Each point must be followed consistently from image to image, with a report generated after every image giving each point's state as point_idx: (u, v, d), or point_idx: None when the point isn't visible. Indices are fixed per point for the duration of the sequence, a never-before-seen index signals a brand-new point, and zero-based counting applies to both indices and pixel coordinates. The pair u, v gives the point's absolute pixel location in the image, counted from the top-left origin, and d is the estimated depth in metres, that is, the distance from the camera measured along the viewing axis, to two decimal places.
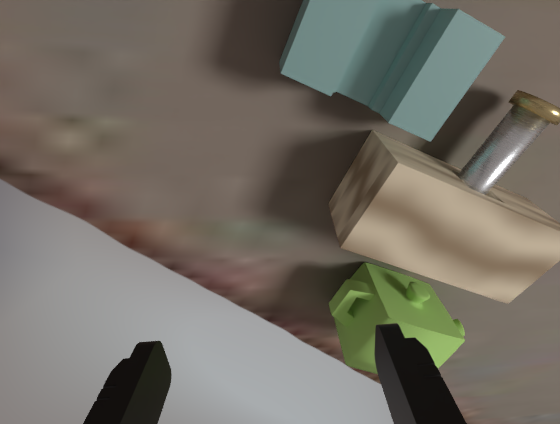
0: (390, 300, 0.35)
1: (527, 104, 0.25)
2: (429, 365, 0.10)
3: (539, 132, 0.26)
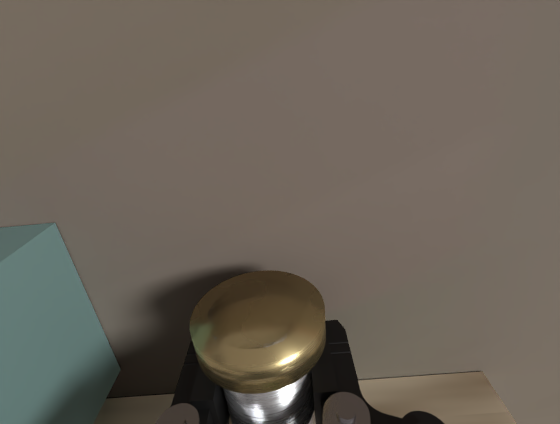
0: None
1: (199, 360, 0.09)
2: (343, 343, 0.11)
3: (289, 392, 0.09)
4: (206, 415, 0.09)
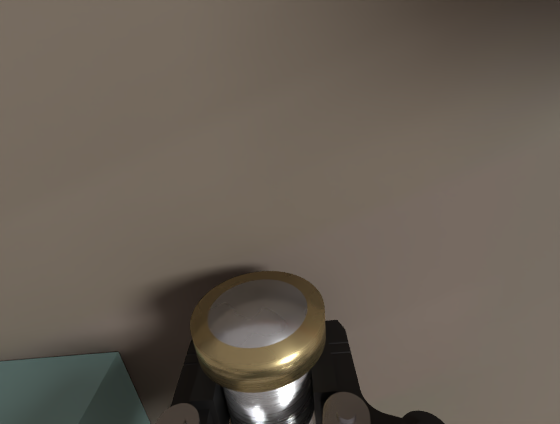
0: None
1: (199, 359, 0.09)
2: (343, 343, 0.11)
3: (289, 392, 0.09)
4: (206, 415, 0.09)
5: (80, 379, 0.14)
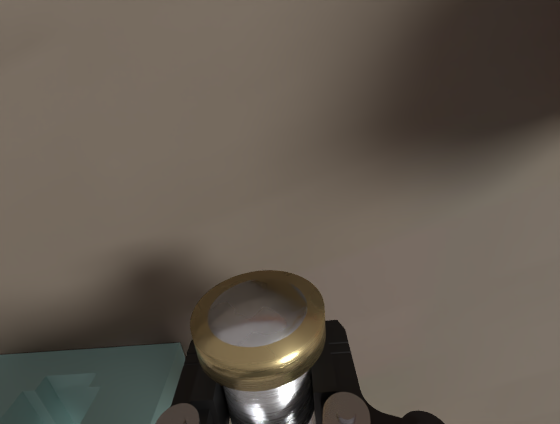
0: None
1: (199, 358, 0.09)
2: (342, 343, 0.11)
3: (289, 391, 0.09)
4: (206, 415, 0.09)
5: (158, 360, 0.21)
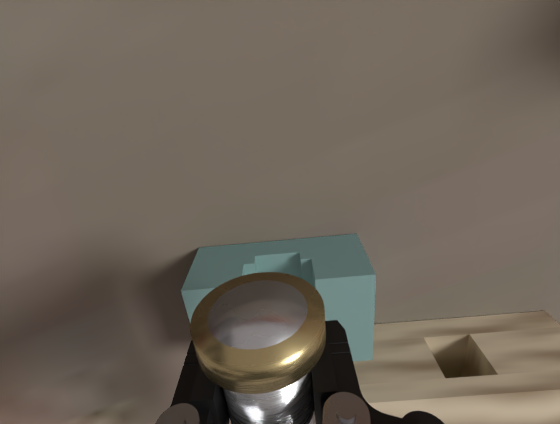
0: None
1: (199, 361, 0.09)
2: (343, 343, 0.11)
3: (289, 393, 0.09)
4: (206, 415, 0.09)
5: (347, 243, 0.25)
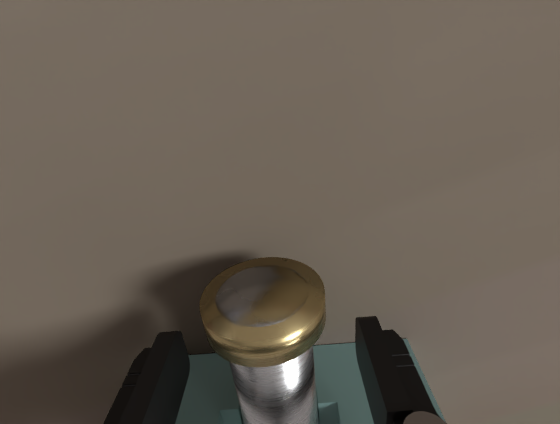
0: None
1: (212, 342, 0.09)
2: (404, 355, 0.10)
3: (295, 365, 0.10)
4: None
5: None
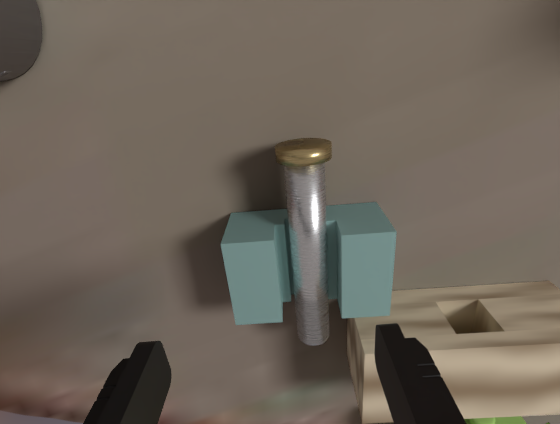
0: None
1: (282, 160, 0.22)
2: (429, 365, 0.10)
3: (318, 175, 0.22)
4: None
5: (368, 209, 0.27)
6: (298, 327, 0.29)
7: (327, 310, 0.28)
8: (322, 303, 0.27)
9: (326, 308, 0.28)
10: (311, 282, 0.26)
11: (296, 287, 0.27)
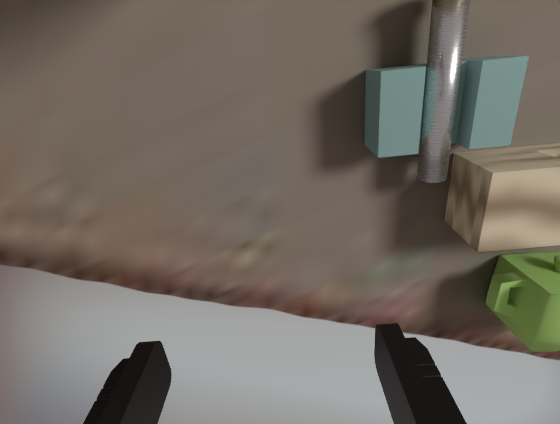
0: (544, 279, 0.38)
1: None
2: (429, 365, 0.10)
3: (466, 4, 0.27)
4: None
5: (488, 57, 0.32)
6: (421, 168, 0.34)
7: (450, 149, 0.33)
8: (449, 138, 0.32)
9: (450, 146, 0.33)
10: (444, 114, 0.31)
11: (427, 124, 0.32)
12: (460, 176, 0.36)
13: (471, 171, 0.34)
